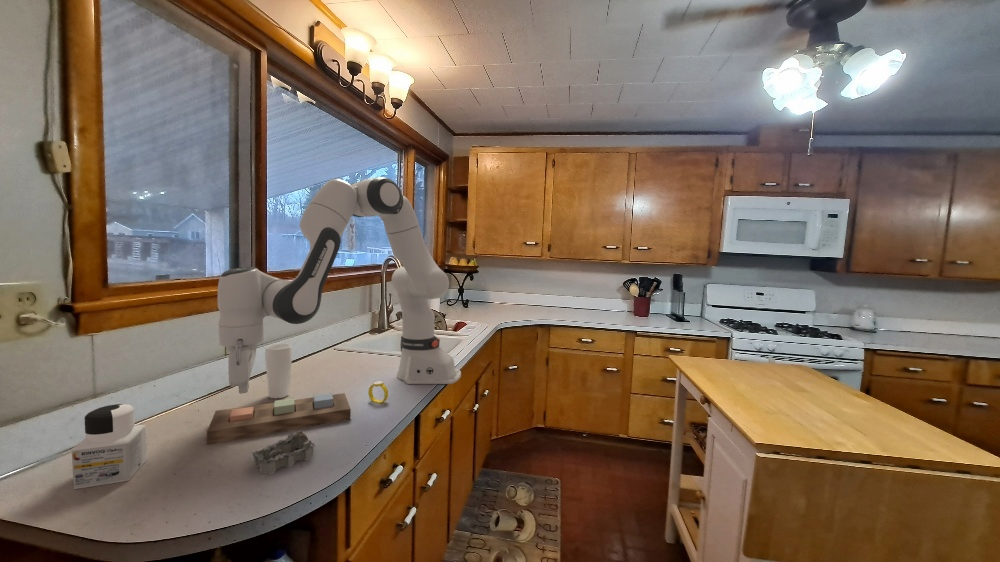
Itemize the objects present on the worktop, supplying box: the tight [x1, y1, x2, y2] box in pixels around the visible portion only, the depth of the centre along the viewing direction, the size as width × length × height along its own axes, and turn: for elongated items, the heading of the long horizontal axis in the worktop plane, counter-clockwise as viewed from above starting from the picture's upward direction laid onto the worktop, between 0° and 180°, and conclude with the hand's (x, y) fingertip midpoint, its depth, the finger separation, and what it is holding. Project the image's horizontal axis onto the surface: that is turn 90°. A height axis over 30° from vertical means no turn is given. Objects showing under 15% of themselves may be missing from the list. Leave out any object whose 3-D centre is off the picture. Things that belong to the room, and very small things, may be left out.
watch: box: [367, 380, 389, 404], centre depth 112 cm, size 6×3×6 cm, turn 71°
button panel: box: [206, 392, 352, 445], centre depth 98 cm, size 30×12×3 cm, turn 119°
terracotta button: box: [230, 406, 254, 422], centre depth 93 cm, size 4×4×3 cm
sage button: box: [274, 398, 295, 415], centre depth 97 cm, size 4×4×3 cm
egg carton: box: [250, 429, 316, 475], centre depth 80 cm, size 11×8×4 cm
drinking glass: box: [264, 343, 293, 399], centre depth 113 cm, size 7×7×15 cm
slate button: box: [313, 392, 333, 409], centre depth 102 cm, size 4×4×3 cm
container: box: [71, 403, 148, 490], centre depth 73 cm, size 8×8×13 cm
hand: (243, 391), depth 93 cm, fingers closed
